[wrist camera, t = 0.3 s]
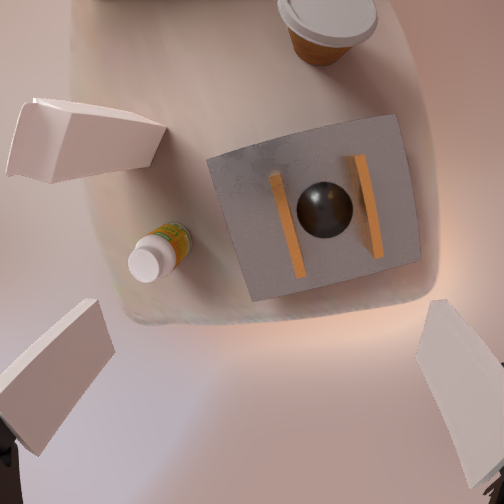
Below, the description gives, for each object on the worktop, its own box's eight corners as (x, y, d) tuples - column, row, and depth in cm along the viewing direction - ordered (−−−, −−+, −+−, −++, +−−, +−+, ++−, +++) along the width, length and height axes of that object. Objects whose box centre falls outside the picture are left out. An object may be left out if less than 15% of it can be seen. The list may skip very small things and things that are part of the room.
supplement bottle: (191, 221, 37) (162, 243, 28) (193, 259, 39) (168, 290, 30) (155, 221, 38) (119, 242, 29) (159, 258, 40) (126, 286, 30)
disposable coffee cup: (283, 12, 26) (281, -37, 15) (355, 24, 26) (379, -19, 14) (276, 71, 30) (272, 33, 18) (352, 83, 29) (381, 53, 18)
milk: (117, 151, 35) (-11, 165, 14) (134, 112, 33) (7, 95, 12) (150, 167, 35) (22, 192, 15) (168, 126, 33) (43, 110, 13)
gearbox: (218, 159, 34) (194, 160, 25) (378, 119, 30) (410, 108, 21) (257, 280, 39) (248, 320, 30) (403, 244, 35) (435, 273, 25)
